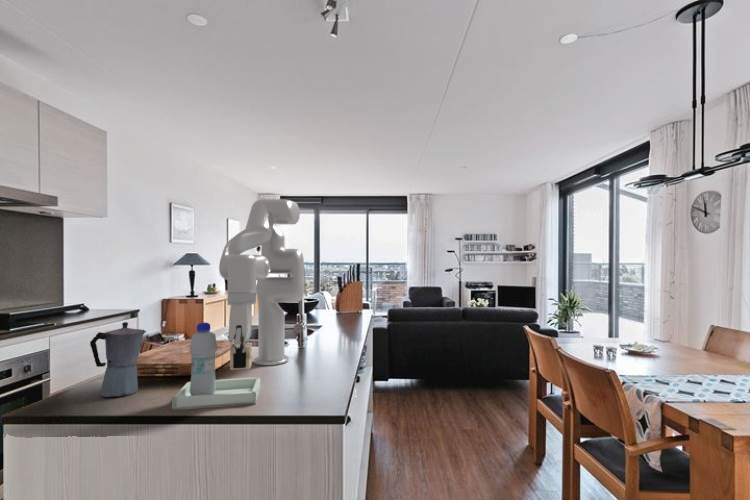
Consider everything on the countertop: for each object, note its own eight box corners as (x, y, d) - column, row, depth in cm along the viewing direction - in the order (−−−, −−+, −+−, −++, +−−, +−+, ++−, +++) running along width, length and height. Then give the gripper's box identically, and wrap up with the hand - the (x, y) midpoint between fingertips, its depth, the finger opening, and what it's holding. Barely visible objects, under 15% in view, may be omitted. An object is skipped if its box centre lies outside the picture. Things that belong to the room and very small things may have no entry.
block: (233, 365, 107) (233, 343, 108) (251, 364, 108) (251, 343, 109) (230, 369, 102) (230, 347, 103) (249, 368, 103) (249, 346, 104)
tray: (187, 392, 109) (188, 381, 109) (260, 387, 113) (260, 377, 113) (172, 410, 95) (172, 398, 96) (255, 404, 99) (255, 392, 99)
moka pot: (155, 387, 114) (156, 319, 115) (103, 405, 100) (105, 327, 100) (131, 384, 117) (132, 318, 118) (78, 401, 103) (80, 326, 103)
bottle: (206, 401, 100) (206, 324, 100) (183, 400, 101) (184, 324, 102) (221, 393, 106) (222, 320, 107) (200, 392, 107) (200, 320, 108)
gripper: (232, 297, 114) (232, 359, 113) (221, 301, 97) (220, 374, 96) (259, 296, 115) (258, 357, 114) (252, 300, 99) (251, 372, 98)
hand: (241, 364), depth 105 cm, fingers closed on block, 5 cm apart
